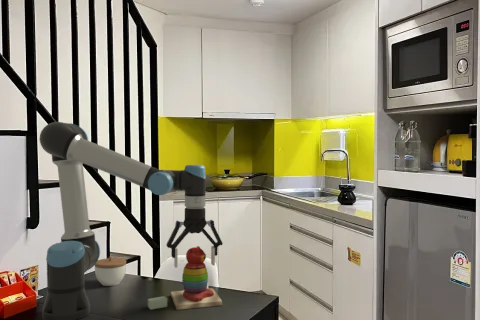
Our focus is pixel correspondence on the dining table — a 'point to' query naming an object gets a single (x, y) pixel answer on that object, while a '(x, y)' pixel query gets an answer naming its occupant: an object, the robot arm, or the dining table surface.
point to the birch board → (187, 304)
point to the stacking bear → (195, 276)
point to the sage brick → (157, 302)
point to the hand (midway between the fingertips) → (194, 265)
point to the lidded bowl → (110, 270)
